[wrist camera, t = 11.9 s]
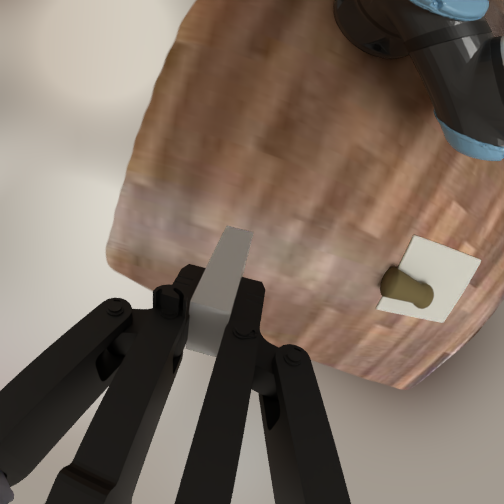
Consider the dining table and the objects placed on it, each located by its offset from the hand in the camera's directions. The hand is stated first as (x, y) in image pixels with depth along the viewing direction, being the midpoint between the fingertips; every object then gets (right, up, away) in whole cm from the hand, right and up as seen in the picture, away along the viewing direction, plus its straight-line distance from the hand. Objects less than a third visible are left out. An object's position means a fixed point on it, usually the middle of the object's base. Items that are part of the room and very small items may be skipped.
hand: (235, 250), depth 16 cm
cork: (+26, -6, +33) cm, 43 cm away
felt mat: (+39, -7, +36) cm, 53 cm away
